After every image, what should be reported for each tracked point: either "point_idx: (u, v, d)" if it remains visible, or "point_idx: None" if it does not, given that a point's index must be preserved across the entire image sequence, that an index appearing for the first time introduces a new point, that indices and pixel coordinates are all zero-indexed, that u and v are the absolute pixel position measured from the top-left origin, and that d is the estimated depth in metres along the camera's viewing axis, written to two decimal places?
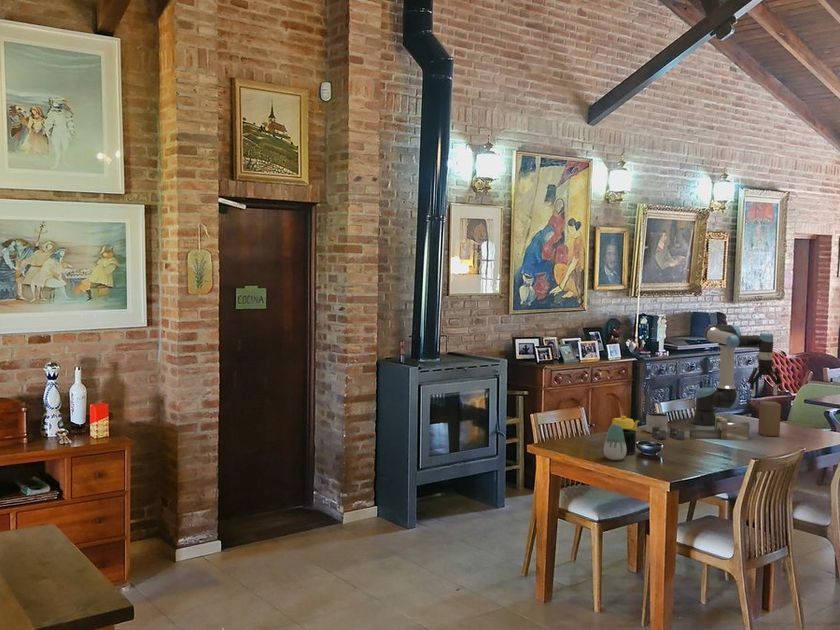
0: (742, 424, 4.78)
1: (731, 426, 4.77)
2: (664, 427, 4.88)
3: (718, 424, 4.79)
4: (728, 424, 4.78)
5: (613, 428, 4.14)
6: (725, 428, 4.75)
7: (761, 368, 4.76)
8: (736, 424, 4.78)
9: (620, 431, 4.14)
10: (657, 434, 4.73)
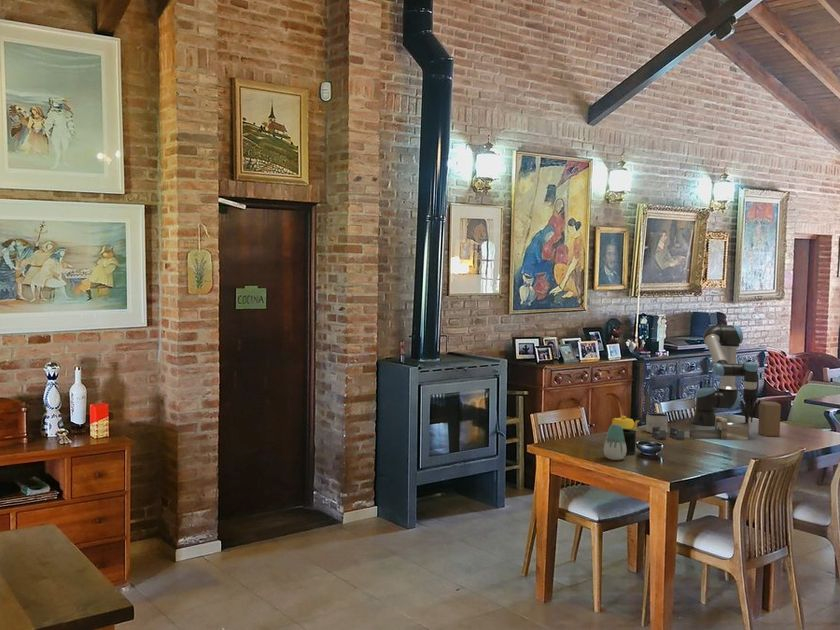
0: (742, 424, 4.78)
1: (731, 426, 4.77)
2: (664, 427, 4.88)
3: (718, 424, 4.79)
4: (728, 424, 4.77)
5: (613, 428, 4.14)
6: (725, 428, 4.75)
7: (745, 397, 4.79)
8: (736, 424, 4.78)
9: (620, 431, 4.14)
10: (657, 434, 4.73)
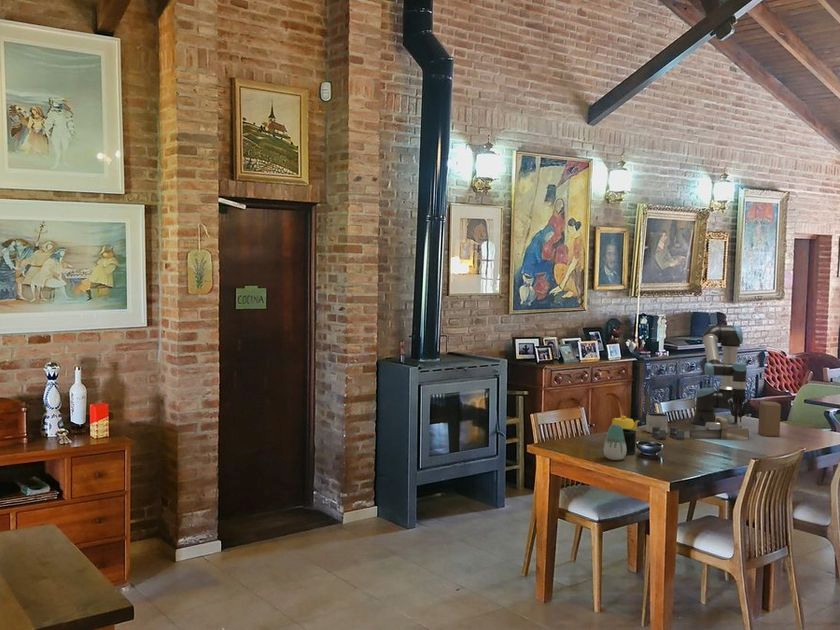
0: (730, 424, 4.78)
1: (719, 426, 4.77)
2: (664, 427, 4.88)
3: (706, 424, 4.79)
4: (716, 424, 4.77)
5: (613, 428, 4.14)
6: (725, 428, 4.75)
7: (734, 397, 4.78)
8: None
9: (620, 431, 4.14)
10: (657, 434, 4.73)
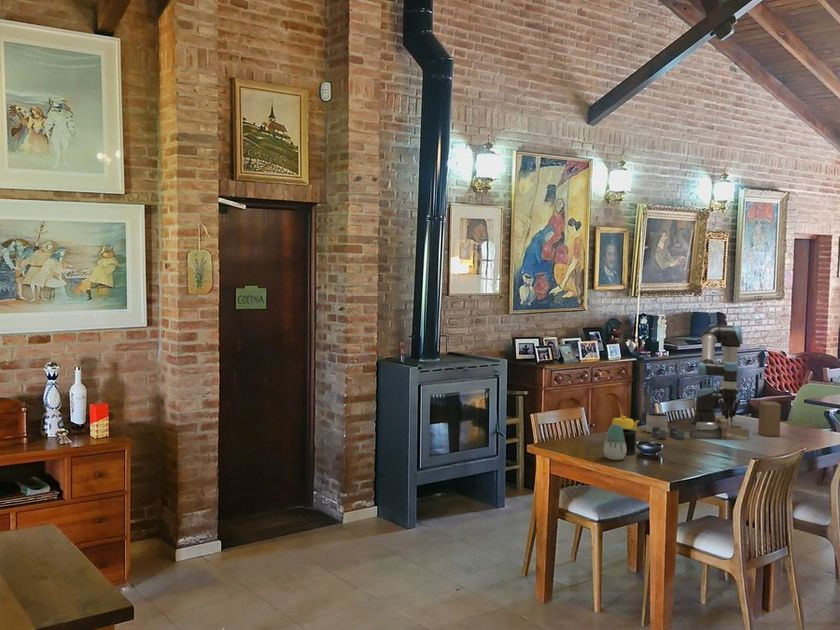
0: (721, 423, 4.78)
1: (710, 425, 4.76)
2: (664, 427, 4.88)
3: (697, 424, 4.78)
4: (707, 423, 4.77)
5: (613, 428, 4.14)
6: (725, 428, 4.75)
7: (724, 397, 4.77)
8: (715, 423, 4.77)
9: (620, 431, 4.14)
10: (657, 434, 4.73)
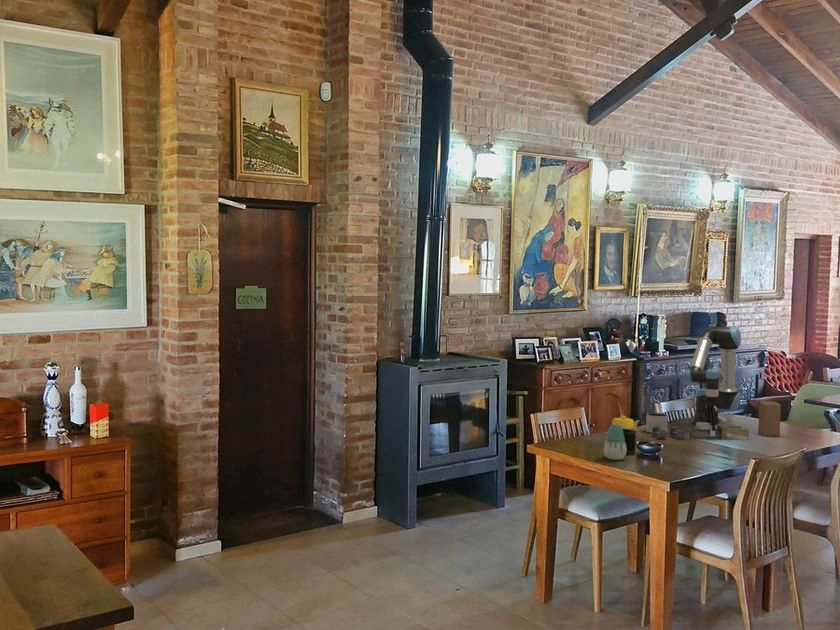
0: (721, 423, 4.78)
1: None
2: (664, 427, 4.88)
3: (697, 424, 4.78)
4: (707, 423, 4.77)
5: (613, 428, 4.14)
6: (725, 428, 4.75)
7: (707, 403, 4.81)
8: None
9: (620, 431, 4.14)
10: (657, 434, 4.73)
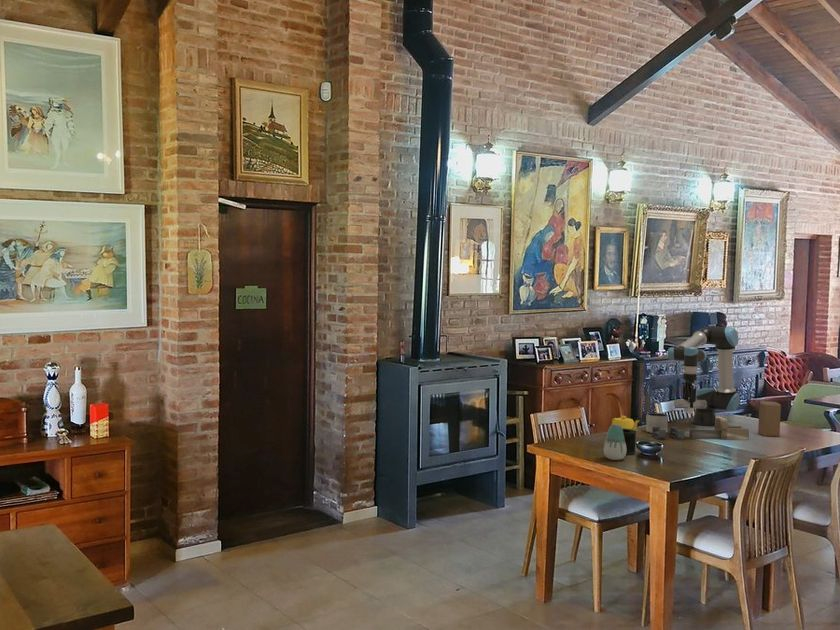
0: (699, 401, 4.75)
1: None
2: (664, 427, 4.88)
3: (675, 402, 4.76)
4: (685, 400, 4.74)
5: (613, 428, 4.14)
6: (725, 428, 4.75)
7: (685, 381, 4.79)
8: None
9: (620, 431, 4.14)
10: (657, 434, 4.73)
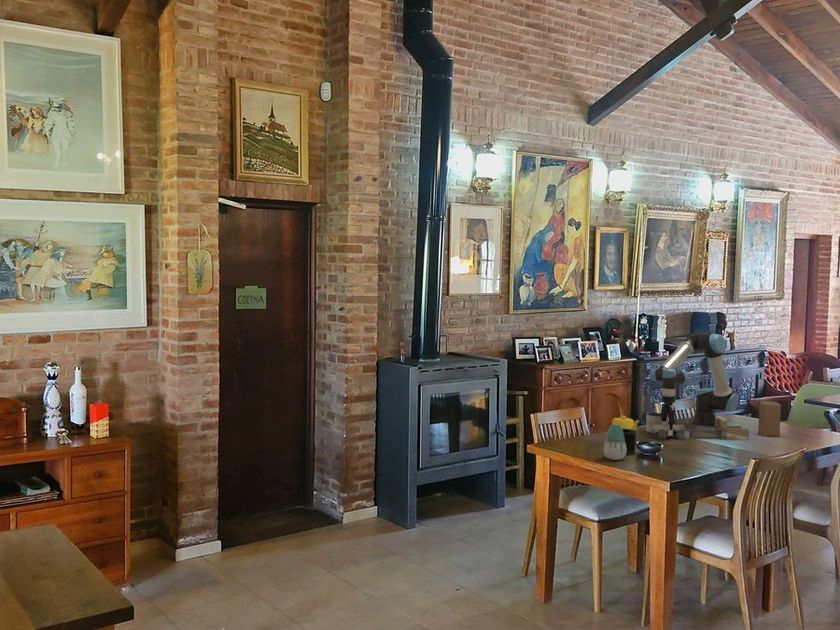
0: (677, 425, 4.75)
1: (666, 427, 4.74)
2: None
3: (653, 427, 4.76)
4: (663, 425, 4.74)
5: (613, 428, 4.14)
6: (725, 428, 4.75)
7: (664, 403, 4.78)
8: None
9: (620, 431, 4.14)
10: (657, 434, 4.73)
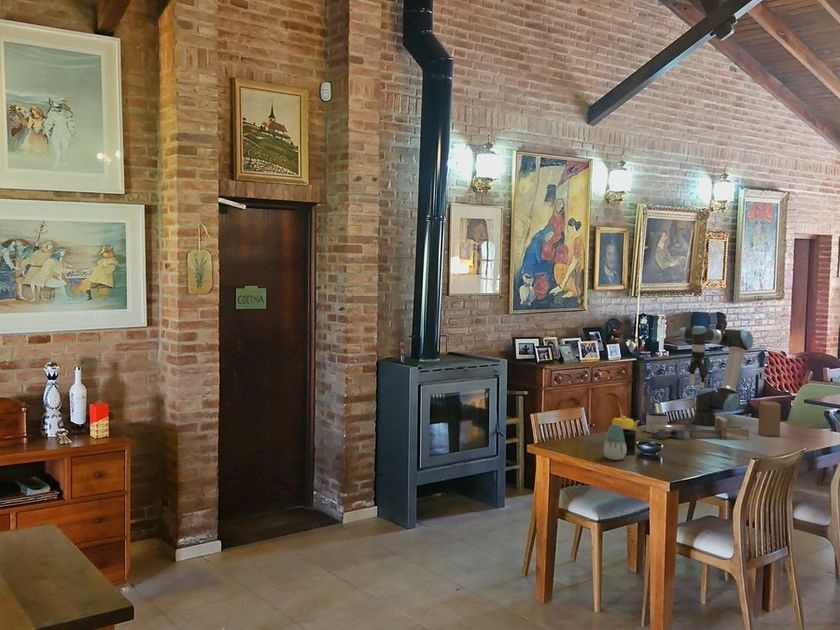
0: (677, 425, 4.75)
1: (666, 427, 4.74)
2: None
3: (653, 427, 4.76)
4: (663, 425, 4.74)
5: (613, 428, 4.14)
6: (725, 428, 4.75)
7: (694, 359, 4.95)
8: (671, 425, 4.75)
9: (620, 431, 4.14)
10: (657, 434, 4.73)
